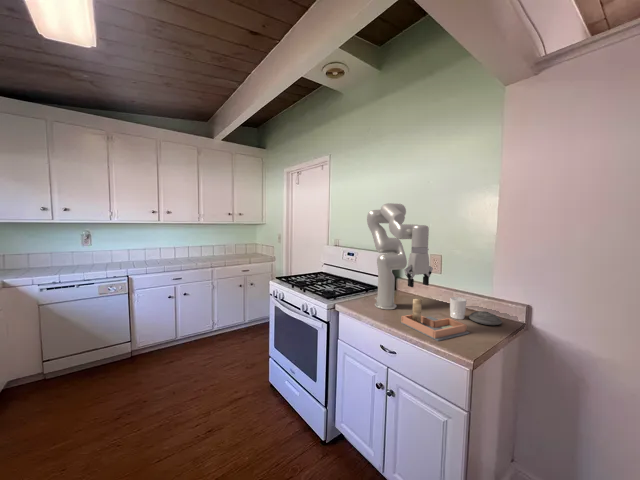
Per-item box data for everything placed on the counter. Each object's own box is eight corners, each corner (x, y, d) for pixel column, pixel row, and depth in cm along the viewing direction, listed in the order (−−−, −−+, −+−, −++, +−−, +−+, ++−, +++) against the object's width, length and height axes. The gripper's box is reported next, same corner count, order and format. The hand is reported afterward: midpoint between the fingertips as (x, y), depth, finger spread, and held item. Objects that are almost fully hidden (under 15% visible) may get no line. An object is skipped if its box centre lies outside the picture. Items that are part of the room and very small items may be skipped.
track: (400, 322, 140) (400, 315, 140) (429, 317, 149) (430, 310, 148) (437, 341, 119) (438, 332, 119) (469, 333, 128) (469, 325, 128)
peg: (410, 323, 138) (411, 299, 137) (416, 322, 140) (417, 298, 139) (416, 326, 135) (417, 301, 134) (422, 324, 136) (423, 300, 136)
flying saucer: (471, 314, 155) (472, 305, 154) (503, 321, 145) (504, 311, 145) (465, 322, 143) (465, 311, 143) (499, 330, 134) (500, 318, 133)
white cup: (463, 315, 153) (464, 297, 152) (467, 320, 145) (468, 301, 144) (447, 314, 155) (448, 296, 154) (450, 318, 147) (451, 300, 146)
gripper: (426, 249, 142) (425, 282, 143) (400, 250, 134) (399, 285, 135) (438, 250, 135) (437, 285, 136) (411, 252, 128) (410, 289, 129)
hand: (418, 285), depth 136 cm, fingers open, 9 cm apart
